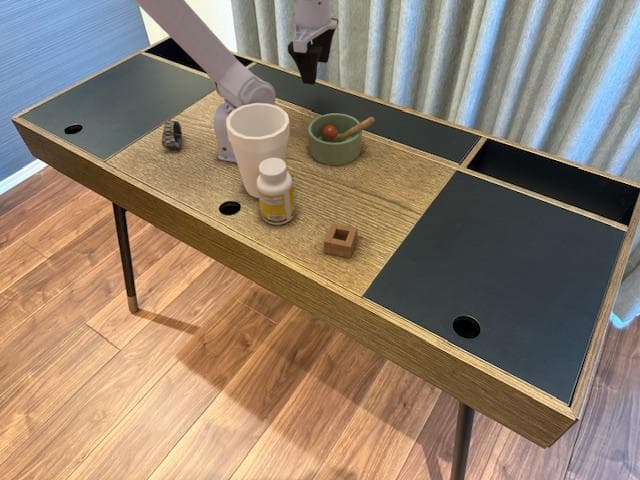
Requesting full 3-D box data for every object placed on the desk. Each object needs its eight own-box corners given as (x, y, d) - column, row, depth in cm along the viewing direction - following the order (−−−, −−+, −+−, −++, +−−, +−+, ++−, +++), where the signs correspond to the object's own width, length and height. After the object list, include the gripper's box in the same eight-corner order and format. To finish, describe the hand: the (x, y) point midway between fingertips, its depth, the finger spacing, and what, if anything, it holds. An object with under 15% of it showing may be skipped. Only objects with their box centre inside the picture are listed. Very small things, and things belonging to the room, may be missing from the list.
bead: (325, 146, 90) (316, 135, 88) (329, 134, 91) (320, 123, 89) (338, 142, 88) (328, 131, 86) (342, 130, 89) (333, 119, 87)
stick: (327, 145, 88) (371, 118, 81) (328, 140, 88) (372, 114, 81) (331, 149, 88) (375, 123, 81) (333, 145, 89) (376, 119, 82)
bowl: (302, 160, 87) (301, 139, 83) (318, 130, 93) (317, 110, 89) (353, 169, 85) (354, 148, 81) (366, 138, 91) (367, 117, 87)
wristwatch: (169, 150, 92) (159, 145, 87) (173, 123, 92) (164, 117, 87) (185, 152, 92) (176, 147, 87) (189, 126, 92) (180, 119, 87)
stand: (324, 252, 72) (323, 241, 70) (332, 233, 74) (331, 222, 72) (350, 258, 71) (350, 247, 69) (357, 239, 73) (357, 227, 72)
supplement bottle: (281, 197, 80) (276, 149, 73) (302, 214, 77) (299, 167, 70) (254, 212, 78) (246, 165, 70) (275, 231, 75) (269, 183, 68)
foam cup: (280, 210, 78) (275, 144, 69) (227, 198, 80) (215, 132, 70) (298, 173, 84) (297, 108, 75) (249, 163, 86) (241, 98, 76)
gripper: (321, 14, 72) (325, 96, 82) (347, -23, 81) (348, 54, 91) (277, 10, 73) (286, 91, 83) (307, -26, 82) (312, 51, 92)
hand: (315, 72), depth 87 cm, fingers open, 7 cm apart
